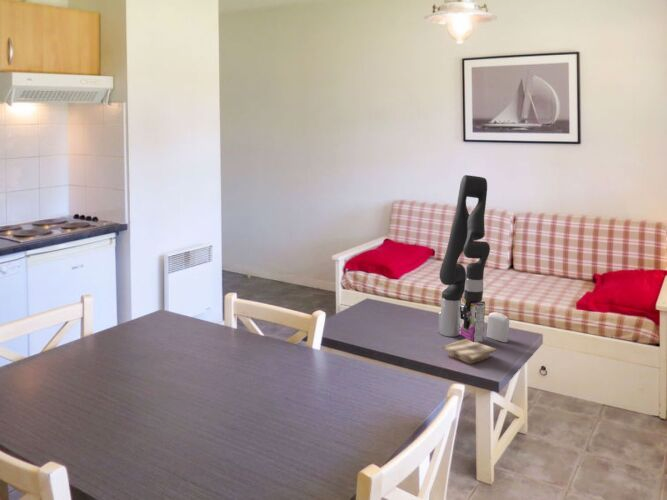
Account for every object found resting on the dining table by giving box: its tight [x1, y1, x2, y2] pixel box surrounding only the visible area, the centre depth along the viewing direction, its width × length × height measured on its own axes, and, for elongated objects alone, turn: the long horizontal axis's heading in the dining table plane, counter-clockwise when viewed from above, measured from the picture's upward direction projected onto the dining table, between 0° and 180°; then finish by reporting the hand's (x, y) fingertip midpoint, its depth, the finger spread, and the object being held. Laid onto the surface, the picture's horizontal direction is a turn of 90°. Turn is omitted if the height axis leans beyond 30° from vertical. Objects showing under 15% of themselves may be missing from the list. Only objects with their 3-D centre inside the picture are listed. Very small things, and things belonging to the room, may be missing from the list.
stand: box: [441, 338, 497, 365], centre depth 276 cm, size 16×16×4 cm
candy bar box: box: [458, 297, 486, 343], centre depth 273 cm, size 11×5×16 cm, turn 24°
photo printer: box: [486, 311, 510, 343], centre depth 298 cm, size 10×4×12 cm, turn 39°
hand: (471, 327), depth 274 cm, fingers closed on candy bar box, 5 cm apart
